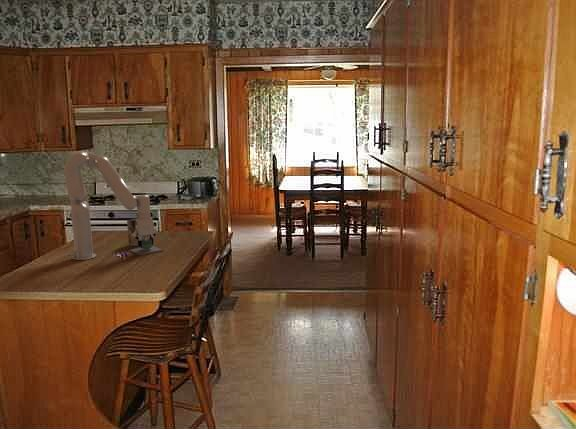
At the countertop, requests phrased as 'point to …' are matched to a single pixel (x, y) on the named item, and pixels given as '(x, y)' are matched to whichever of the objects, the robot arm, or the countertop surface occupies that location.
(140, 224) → the robot arm
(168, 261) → the countertop surface
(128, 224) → the coffee box
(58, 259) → the countertop surface
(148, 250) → the post fixture
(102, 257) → the countertop surface
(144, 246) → the ring
